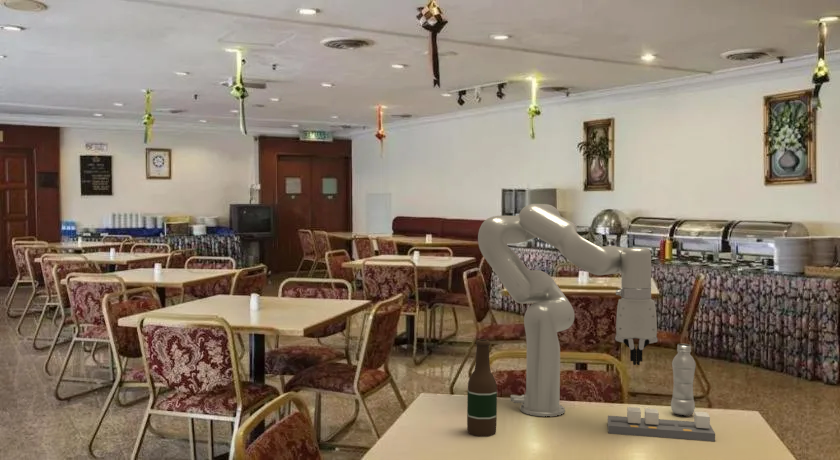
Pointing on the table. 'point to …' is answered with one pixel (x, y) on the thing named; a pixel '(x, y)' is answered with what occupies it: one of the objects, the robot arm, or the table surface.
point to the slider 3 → (702, 420)
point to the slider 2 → (651, 416)
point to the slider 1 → (633, 415)
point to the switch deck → (660, 429)
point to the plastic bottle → (683, 381)
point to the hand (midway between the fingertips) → (636, 364)
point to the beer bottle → (482, 395)
